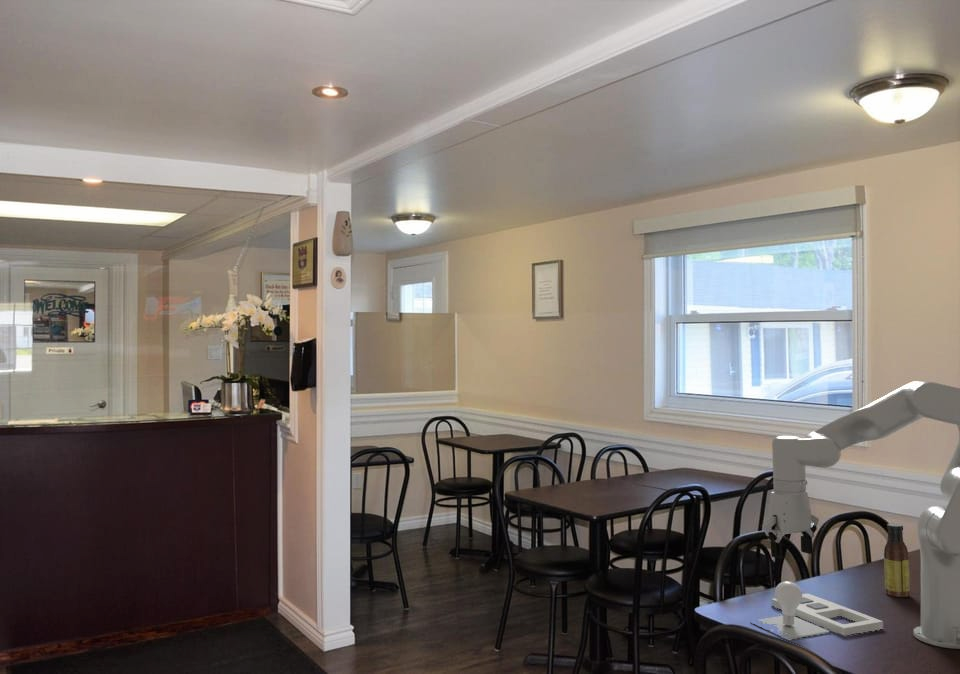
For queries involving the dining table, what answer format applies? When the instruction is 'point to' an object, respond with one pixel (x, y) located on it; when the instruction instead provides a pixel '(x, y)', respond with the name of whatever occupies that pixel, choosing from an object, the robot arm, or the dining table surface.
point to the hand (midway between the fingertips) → (792, 555)
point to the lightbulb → (788, 600)
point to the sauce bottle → (896, 563)
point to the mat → (795, 627)
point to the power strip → (833, 615)
